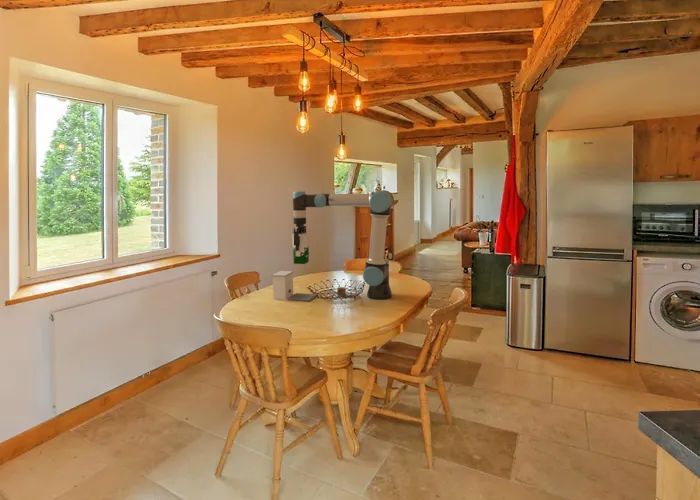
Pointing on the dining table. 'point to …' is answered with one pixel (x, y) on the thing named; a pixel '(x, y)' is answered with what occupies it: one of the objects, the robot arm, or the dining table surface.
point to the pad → (302, 297)
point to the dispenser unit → (282, 285)
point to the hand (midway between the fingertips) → (301, 254)
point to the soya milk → (301, 249)
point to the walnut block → (341, 291)
